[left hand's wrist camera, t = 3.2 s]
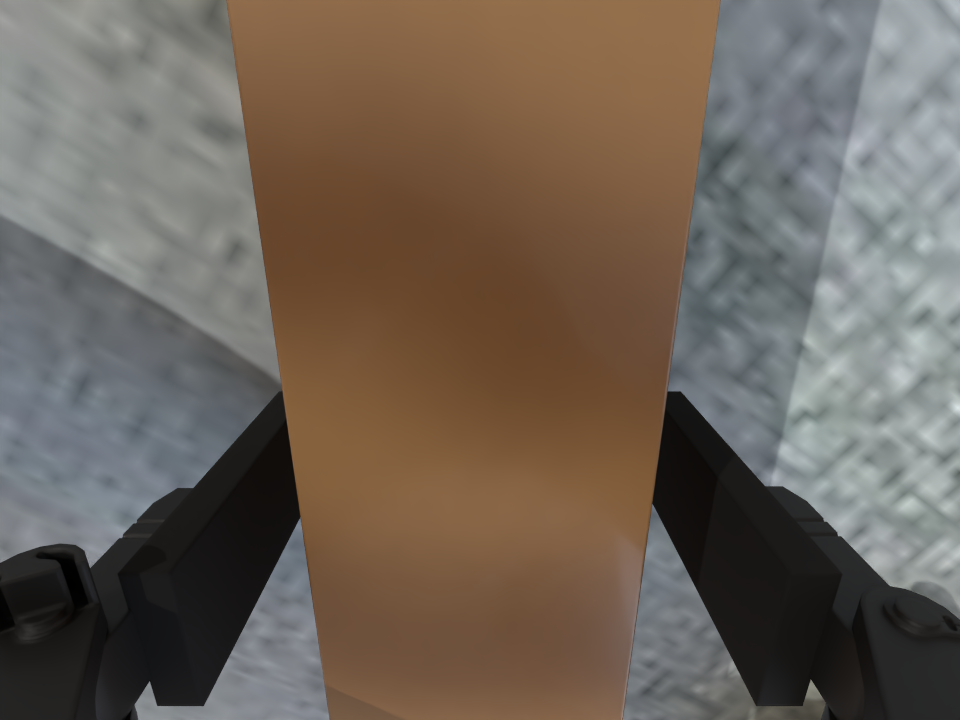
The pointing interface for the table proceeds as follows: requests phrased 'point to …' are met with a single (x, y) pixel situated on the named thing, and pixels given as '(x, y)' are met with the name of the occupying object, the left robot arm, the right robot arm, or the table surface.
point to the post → (474, 329)
